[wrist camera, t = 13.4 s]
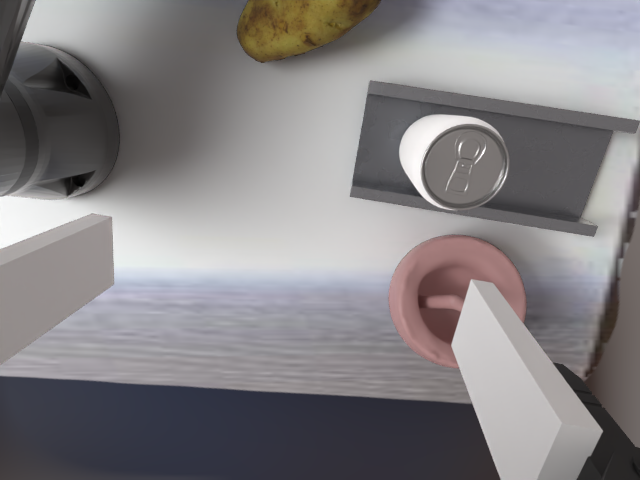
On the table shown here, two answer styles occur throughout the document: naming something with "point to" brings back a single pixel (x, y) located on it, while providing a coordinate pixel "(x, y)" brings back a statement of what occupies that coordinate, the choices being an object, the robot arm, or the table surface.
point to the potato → (296, 25)
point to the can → (454, 160)
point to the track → (522, 144)
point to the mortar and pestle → (446, 291)
